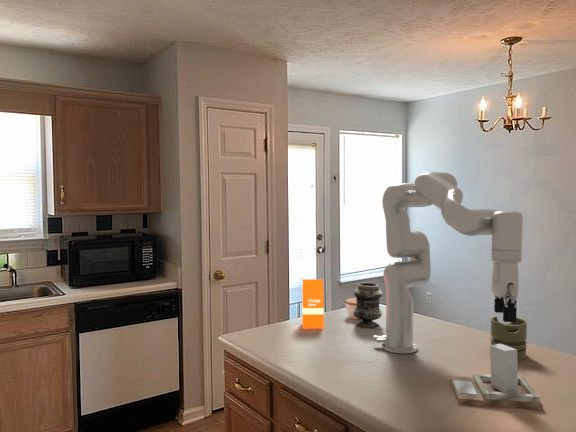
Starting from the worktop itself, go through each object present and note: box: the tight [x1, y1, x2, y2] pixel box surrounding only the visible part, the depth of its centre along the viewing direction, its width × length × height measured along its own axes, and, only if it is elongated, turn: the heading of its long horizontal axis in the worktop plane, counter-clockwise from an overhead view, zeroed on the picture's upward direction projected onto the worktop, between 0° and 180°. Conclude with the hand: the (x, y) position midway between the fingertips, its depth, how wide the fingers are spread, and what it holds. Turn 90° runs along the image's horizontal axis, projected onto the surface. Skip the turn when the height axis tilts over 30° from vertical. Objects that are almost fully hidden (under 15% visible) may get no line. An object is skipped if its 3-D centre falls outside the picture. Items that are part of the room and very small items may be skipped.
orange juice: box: [301, 278, 325, 329], centre depth 204 cm, size 8×9×20 cm
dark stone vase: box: [353, 281, 383, 330], centre depth 203 cm, size 12×12×18 cm
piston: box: [490, 316, 528, 361], centre depth 167 cm, size 11×12×11 cm
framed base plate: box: [449, 373, 544, 411], centre depth 134 cm, size 21×16×3 cm
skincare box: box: [489, 344, 519, 393], centre depth 134 cm, size 6×4×12 cm
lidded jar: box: [344, 296, 360, 320], centre depth 217 cm, size 11×11×9 cm
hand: (504, 316), depth 133 cm, fingers open, 9 cm apart
